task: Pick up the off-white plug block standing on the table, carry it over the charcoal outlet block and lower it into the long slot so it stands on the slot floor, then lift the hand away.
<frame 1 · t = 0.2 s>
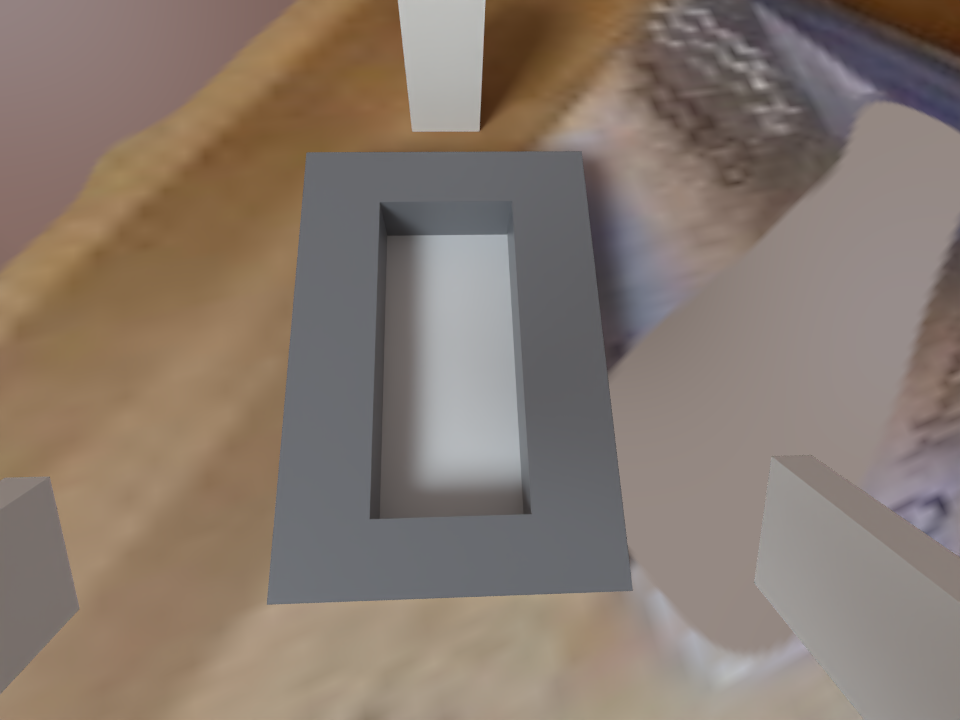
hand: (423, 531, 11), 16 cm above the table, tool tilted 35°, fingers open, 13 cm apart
outlet block: (449, 368, 29), on the table
plug: (445, 105, 34), on the table
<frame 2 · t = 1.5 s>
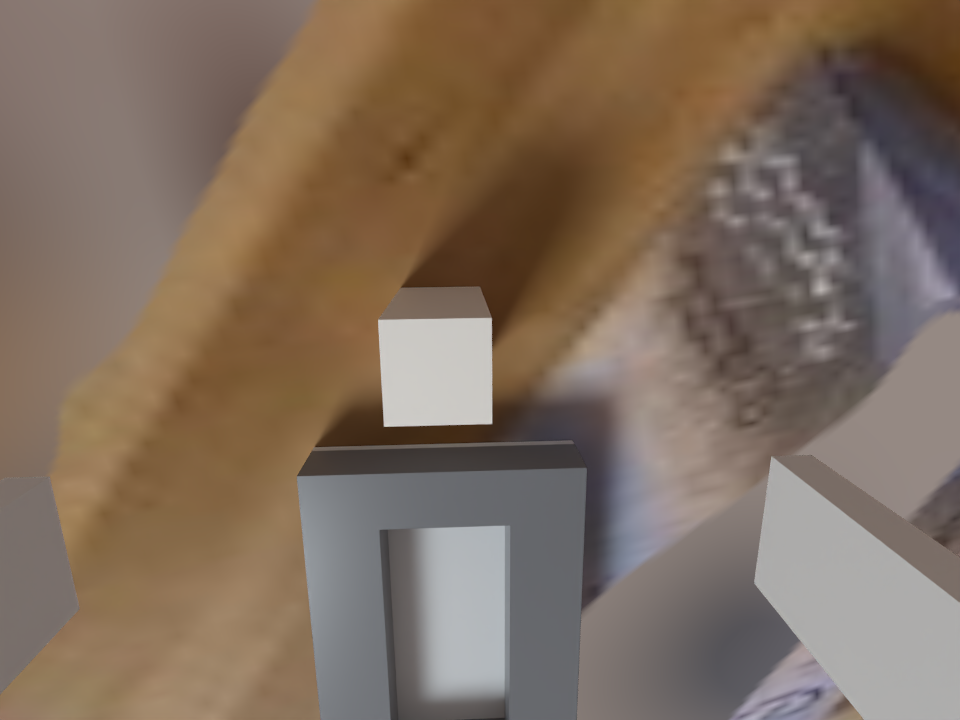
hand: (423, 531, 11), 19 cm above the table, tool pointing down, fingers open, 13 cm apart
outlet block: (448, 609, 33), on the table
plug: (441, 325, 29), on the table
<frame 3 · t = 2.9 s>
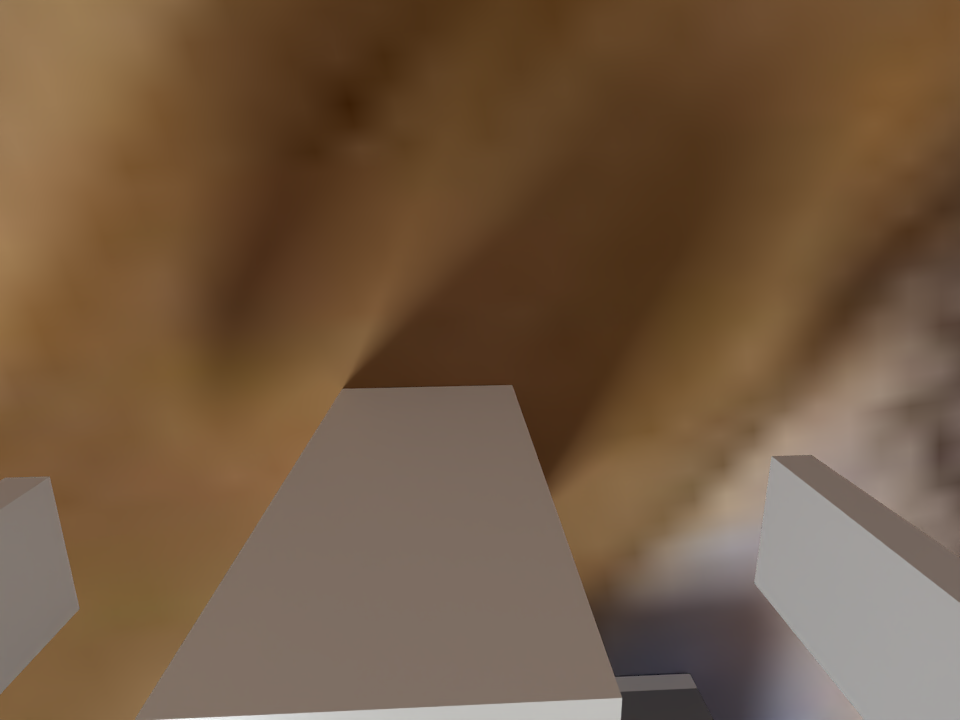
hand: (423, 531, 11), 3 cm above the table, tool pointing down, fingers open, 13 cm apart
plug: (430, 464, 14), on the table
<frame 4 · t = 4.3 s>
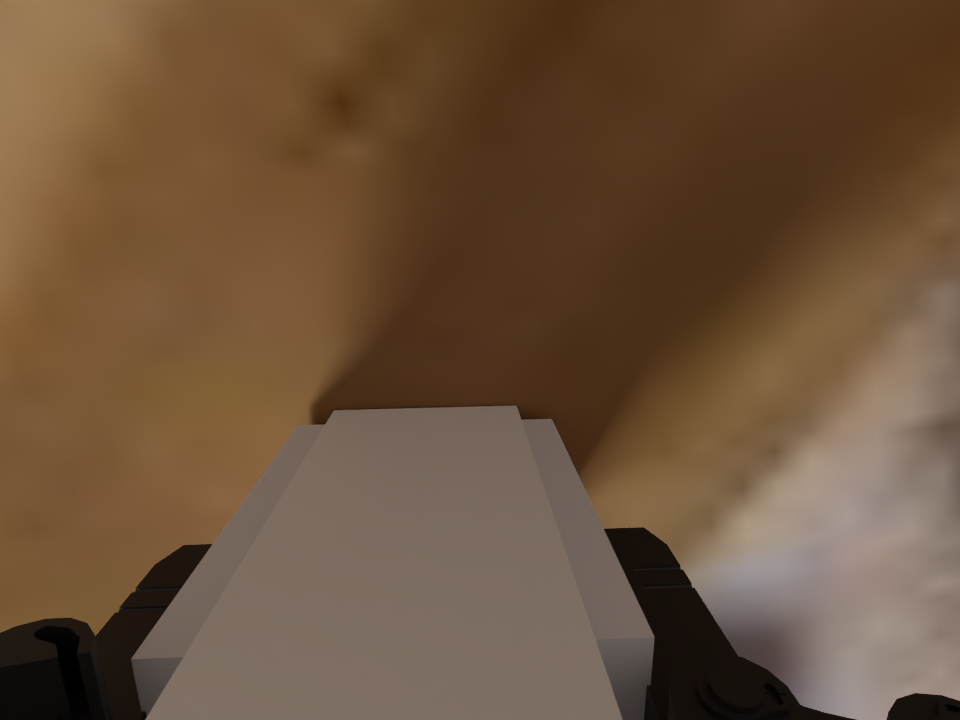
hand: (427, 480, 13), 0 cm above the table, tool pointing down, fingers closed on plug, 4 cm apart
plug: (428, 490, 13), on the table, touching gripper
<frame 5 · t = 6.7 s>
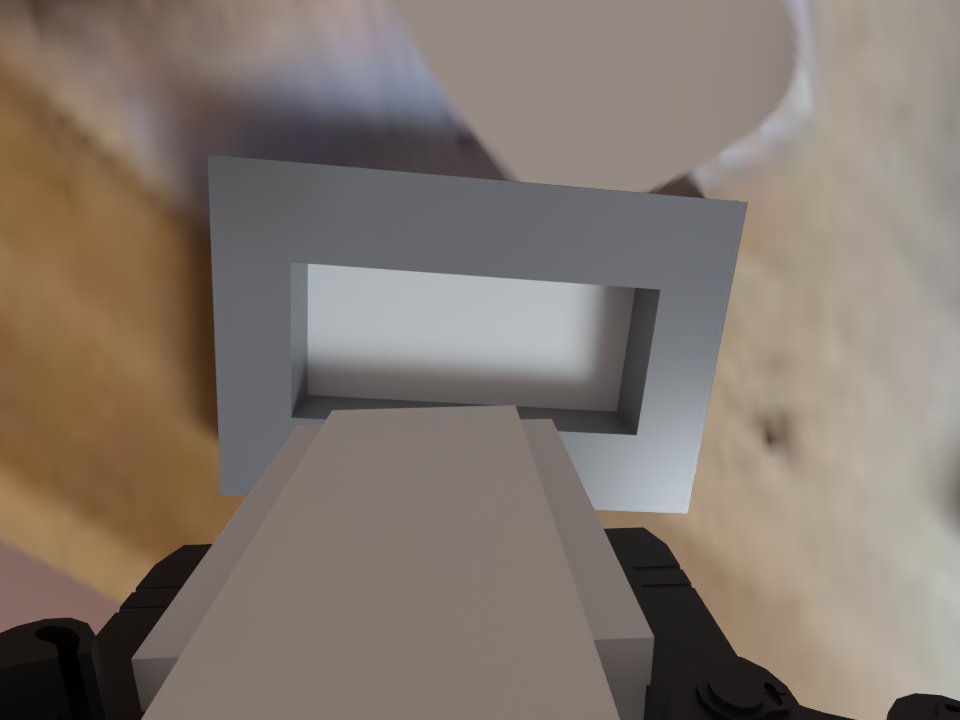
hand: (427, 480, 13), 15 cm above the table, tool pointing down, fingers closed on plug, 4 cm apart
outlet block: (470, 335, 27), on the table
plug: (427, 490, 13), point 15 cm above the table, touching gripper
when the fingers open (2 cm above the table, at t = 9.4 s): plug stays where it is, resting on outlet block.
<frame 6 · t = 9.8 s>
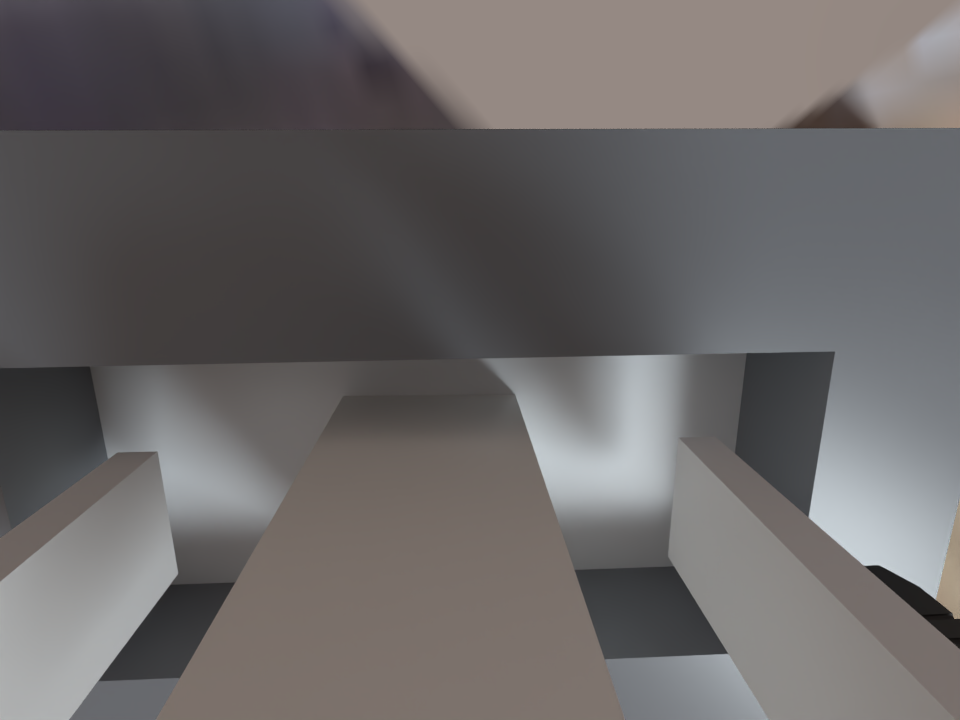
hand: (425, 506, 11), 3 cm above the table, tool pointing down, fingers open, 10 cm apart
outlet block: (430, 449, 14), on the table
plug: (431, 473, 14), resting on outlet block
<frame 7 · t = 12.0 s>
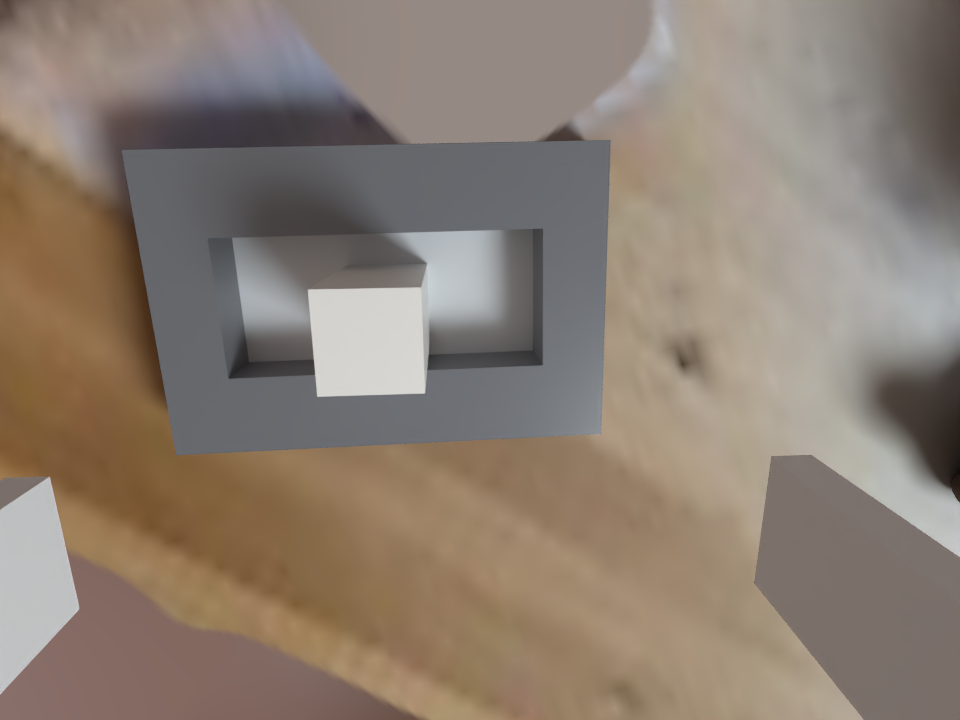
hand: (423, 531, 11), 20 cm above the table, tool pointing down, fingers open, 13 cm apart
outlet block: (389, 293, 30), on the table
plug: (389, 303, 29), resting on outlet block
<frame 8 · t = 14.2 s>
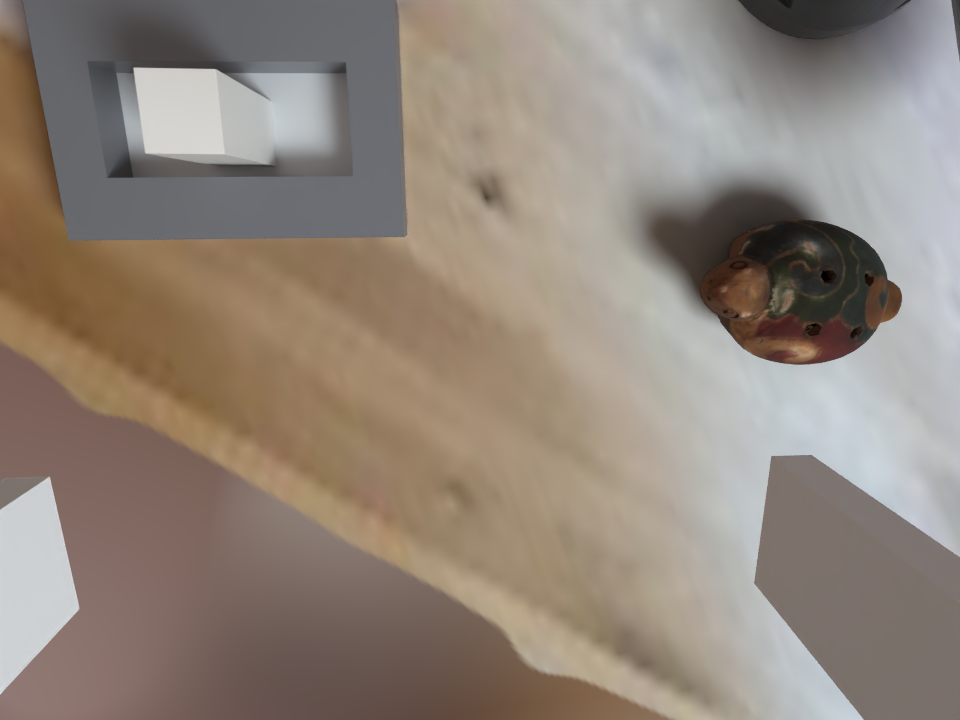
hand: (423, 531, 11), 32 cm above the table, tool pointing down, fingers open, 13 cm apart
outlet block: (245, 128, 38), on the table
plug: (243, 134, 37), resting on outlet block
decorative turtle: (765, 285, 42), on the table
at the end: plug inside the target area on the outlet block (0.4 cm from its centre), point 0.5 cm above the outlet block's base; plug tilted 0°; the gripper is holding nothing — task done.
